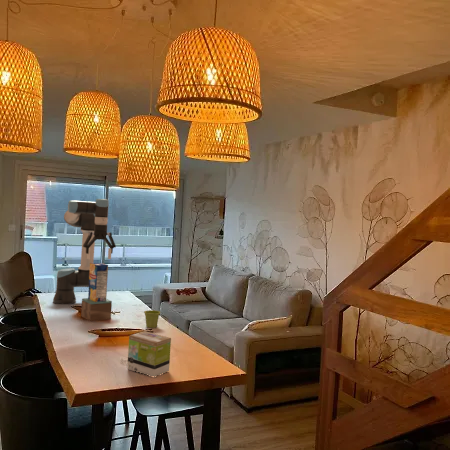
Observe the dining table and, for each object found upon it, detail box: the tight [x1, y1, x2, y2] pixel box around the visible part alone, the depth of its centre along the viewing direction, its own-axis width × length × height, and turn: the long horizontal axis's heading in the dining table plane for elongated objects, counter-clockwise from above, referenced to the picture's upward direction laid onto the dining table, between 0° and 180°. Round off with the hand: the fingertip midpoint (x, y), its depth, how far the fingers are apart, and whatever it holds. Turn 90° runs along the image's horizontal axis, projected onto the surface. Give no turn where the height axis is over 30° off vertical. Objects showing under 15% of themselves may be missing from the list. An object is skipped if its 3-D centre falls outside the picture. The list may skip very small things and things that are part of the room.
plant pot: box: [143, 309, 161, 329], centre depth 262 cm, size 9×9×9 cm
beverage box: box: [87, 262, 109, 302], centre depth 276 cm, size 7×11×22 cm, turn 39°
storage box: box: [80, 299, 113, 322], centre depth 276 cm, size 14×13×10 cm
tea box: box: [127, 330, 172, 378], centre depth 188 cm, size 15×10×15 cm, turn 58°
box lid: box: [81, 297, 113, 304], centre depth 276 cm, size 14×13×1 cm
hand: (99, 259), depth 276 cm, fingers open, 13 cm apart
